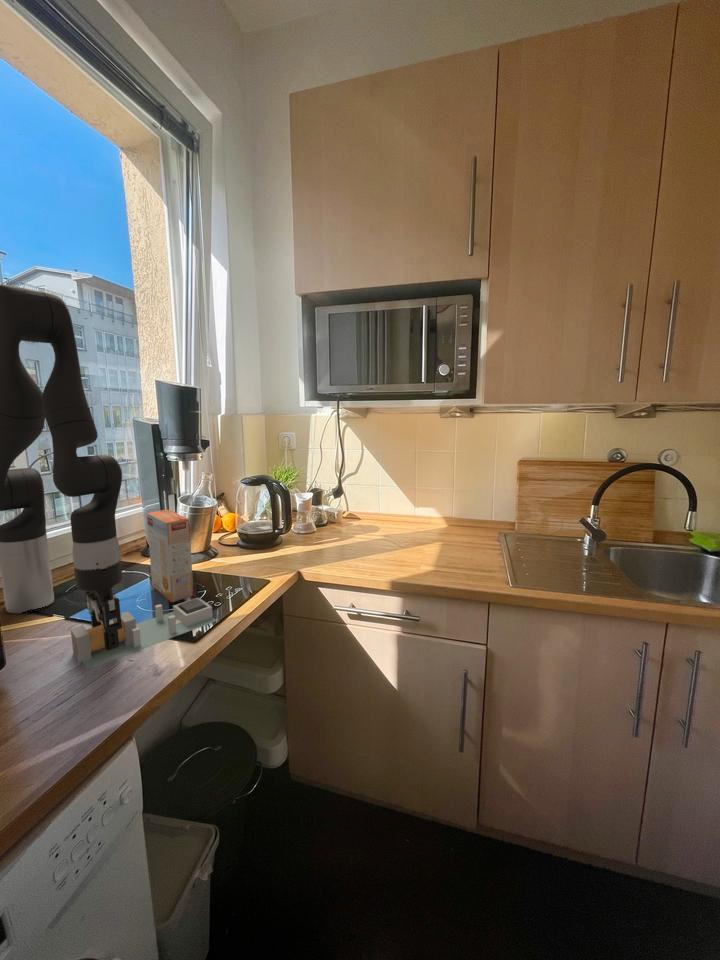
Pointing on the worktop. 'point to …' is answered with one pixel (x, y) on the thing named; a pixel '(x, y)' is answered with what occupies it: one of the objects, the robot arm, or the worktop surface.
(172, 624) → the board
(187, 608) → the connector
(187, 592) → the cracker box
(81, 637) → the tan and white bar
